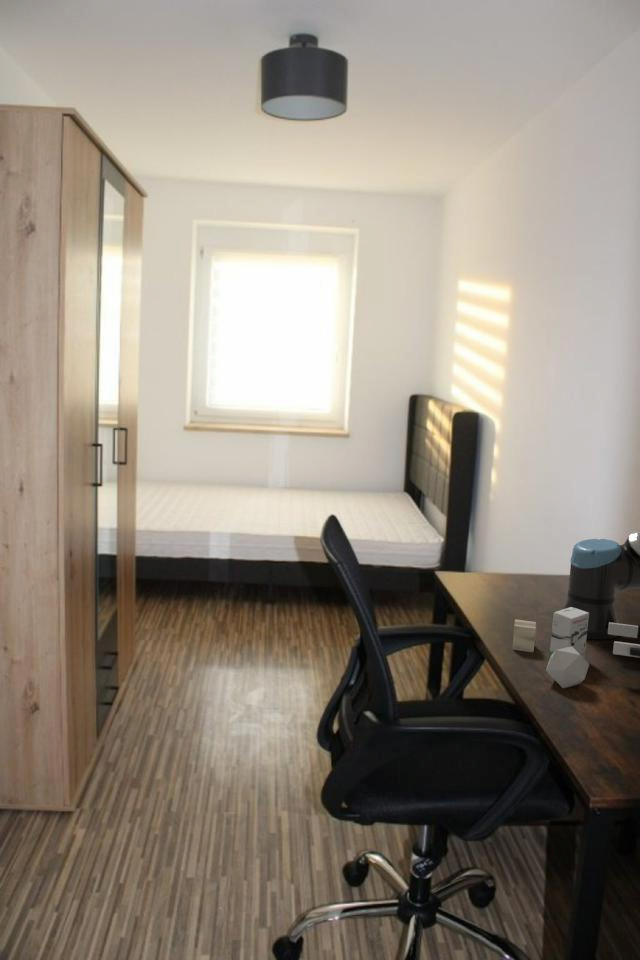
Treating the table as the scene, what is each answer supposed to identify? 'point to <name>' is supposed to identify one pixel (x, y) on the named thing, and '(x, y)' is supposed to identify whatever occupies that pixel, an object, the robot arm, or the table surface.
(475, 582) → the table surface
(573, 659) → the die
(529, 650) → the birch block
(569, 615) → the ink box
